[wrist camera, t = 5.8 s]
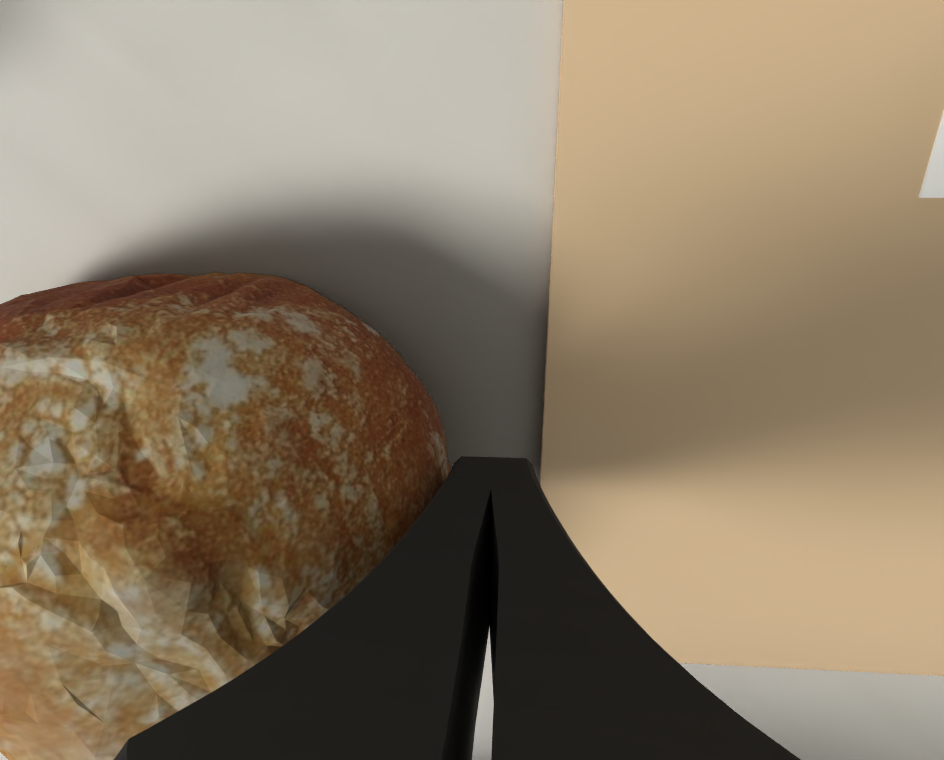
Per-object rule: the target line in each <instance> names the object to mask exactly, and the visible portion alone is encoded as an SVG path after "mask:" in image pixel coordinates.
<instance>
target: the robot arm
mask: <svg viewBox="0 0 944 760" xmlns="http://www.w3.org/2000/svg"><path fill="white" fill-rule="evenodd" d="M489 625H490V642H491V660H492V678H493V695H494V713H493V736H492V759H491V760H800V759H799V758H797V757H796V756H795V755H793V754H792V753H790V752H789V751H788V750H786V749H785V748H784V747H782V746H781V745H779V744H778V743H777V742H775V741H774V740H773V739H771V738H770V737H768V736H767V735H766V734H764V733H763V732H761V731H760V730H759V729H757V728H756V727H755V726H753V725H752V724H750V723H749V722H748V721H746V720H745V719H744V718H743V717H741V716H740V715H739V714H737V713H736V712H735V711H734V710H732V709H731V708H730V707H729V706H728V705H726V704H725V703H724V702H723V701H722V700H720V699H719V698H718V697H717V696H715V695H714V694H713V693H712V692H711V691H709V690H708V689H707V688H706V687H705V686H703V685H702V684H701V683H700V682H698V681H697V680H696V679H695V678H694V677H693V676H692V675H691V674H690V673H689V672H688V671H687V670H685V669H684V668H683V667H682V666H681V665H680V664H679V663H678V662H677V661H676V660H675V659H674V658H673V657H672V656H670V655H669V654H668V653H667V652H666V651H665V650H664V649H663V648H662V647H661V646H660V645H659V644H658V643H657V642H655V641H654V640H653V639H652V638H651V637H650V636H649V635H648V633H647V632H646V631H645V630H644V629H643V628H642V627H641V626H640V625H639V624H638V623H637V622H636V621H635V620H634V619H633V618H632V616H631V615H630V614H629V613H628V612H627V611H626V610H625V609H624V608H623V606H622V605H621V604H620V603H619V602H618V601H617V600H616V598H615V597H614V596H613V595H612V594H611V593H610V591H609V590H608V589H607V588H606V586H605V585H604V584H603V583H602V582H601V580H600V579H599V578H598V576H597V575H596V574H595V573H594V571H593V570H592V569H591V567H590V566H589V564H588V563H587V562H586V560H585V559H584V558H583V556H582V555H581V553H580V552H579V551H578V549H577V548H576V546H575V545H574V543H573V542H572V540H571V539H570V537H569V536H568V534H567V532H566V531H565V529H564V528H563V526H562V524H561V523H560V521H559V519H558V518H557V516H556V514H555V513H554V511H553V509H552V507H551V506H550V504H549V502H548V500H547V498H546V496H545V494H544V492H543V490H542V488H541V486H540V484H539V482H538V479H537V477H536V474H535V472H534V469H533V465H532V464H531V463H530V462H529V461H528V460H527V459H526V458H497V457H463V456H462V457H460V458H459V459H458V460H457V461H456V462H455V463H454V465H453V467H452V469H451V471H450V472H449V474H448V476H447V478H446V479H445V481H444V482H443V484H442V485H441V487H440V488H439V490H438V491H437V493H436V494H435V496H434V497H433V499H432V500H431V501H430V503H429V504H428V505H427V507H426V508H425V509H424V510H423V512H422V513H421V514H420V516H419V517H418V518H417V520H416V521H415V522H414V524H413V525H412V526H411V527H410V529H409V530H408V531H407V532H406V533H405V534H404V535H403V537H402V538H401V539H400V540H399V541H398V542H397V543H396V545H395V546H394V547H393V548H392V549H391V550H390V551H389V553H388V554H387V555H386V556H385V557H384V558H383V559H382V560H381V561H380V562H379V563H378V564H377V565H376V566H375V568H374V569H373V570H372V571H371V572H370V573H369V574H368V575H367V576H366V577H365V578H364V579H362V580H361V581H360V582H359V583H358V584H357V585H356V586H355V587H354V588H353V589H352V590H351V591H350V592H349V593H347V594H346V595H345V596H344V597H343V598H342V599H341V600H340V601H338V602H337V603H336V604H335V605H334V606H332V607H331V608H330V609H329V610H328V611H326V612H325V613H324V614H323V615H322V616H321V617H319V618H318V619H317V620H316V621H315V622H313V623H312V624H311V625H310V626H308V627H307V628H306V629H305V630H303V631H302V632H301V633H299V634H298V635H297V636H295V637H294V638H293V639H291V640H290V641H289V642H287V643H286V644H285V645H283V646H282V647H280V648H279V649H277V650H276V651H274V652H273V653H272V654H270V655H269V656H267V657H266V658H264V659H263V660H261V661H260V662H259V663H257V664H256V665H254V666H252V667H251V668H249V669H248V670H246V671H245V672H243V673H242V674H240V675H239V676H237V677H236V678H234V679H232V680H231V681H229V682H228V683H226V684H224V685H223V686H221V687H220V688H218V689H216V690H215V691H213V692H211V693H209V694H208V695H206V696H204V697H202V698H201V699H199V700H197V701H195V702H194V703H192V704H190V705H188V706H187V707H185V708H183V709H181V710H180V711H178V712H176V713H174V714H173V715H171V716H169V717H167V718H166V719H164V720H162V721H160V722H158V723H157V724H155V725H153V726H151V727H150V728H148V729H146V730H144V731H142V732H140V733H138V734H137V735H135V736H133V737H131V738H129V739H128V740H127V742H126V743H125V744H124V746H123V747H122V749H121V750H120V752H119V753H118V754H117V756H116V757H115V758H114V760H472V751H473V741H474V732H475V723H476V716H477V709H478V702H479V695H480V688H481V681H482V674H483V667H484V660H485V653H486V646H487V639H488V632H489Z"/></svg>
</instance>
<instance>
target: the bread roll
mask: <svg viewBox="0 0 944 760" xmlns="http://www.w3.org/2000/svg"><path fill="white" fill-rule="evenodd" d="M450 471H451V468H450V465H449V462H448V459H447V446H446V441H445V435H444V429H443V426H442V423H441V420H440V417H439V413H438V410H437V407H436V405H435V403H434V402H433V400H432V399H431V397H430V396H429V394H428V392H427V391H426V389H425V388H424V386H423V384H422V383H421V382H420V381H419V379H418V378H417V377H416V376H415V374H414V373H413V372H412V371H411V369H410V368H409V367H408V366H407V364H406V363H405V362H404V360H403V359H402V357H401V356H400V355H399V353H398V352H397V351H396V350H395V349H394V348H393V347H392V346H391V345H390V344H389V343H388V342H387V341H386V340H385V339H383V338H382V337H381V336H380V335H379V334H378V333H377V332H376V331H375V330H374V329H372V328H371V327H370V326H369V325H367V324H366V323H365V322H363V321H362V320H360V319H359V318H357V317H356V316H354V315H353V314H352V313H350V312H349V311H347V310H346V309H344V308H342V307H341V306H339V305H337V304H336V303H334V302H332V301H331V300H329V299H327V298H326V297H324V296H322V295H321V294H319V293H317V292H316V291H314V290H312V289H311V288H309V287H307V286H305V285H302V284H299V283H296V282H293V281H291V280H288V279H285V278H281V277H276V276H271V275H264V274H254V273H234V274H225V273H219V272H213V273H209V274H204V275H200V276H192V275H181V274H149V275H135V276H125V277H122V278H119V279H115V280H112V281H88V282H81V283H75V284H71V285H66V286H62V287H58V288H53V289H49V290H44V291H39V292H35V293H31V294H26V295H21V296H19V297H16V298H14V299H12V300H10V301H8V302H5V303H3V304H0V752H1V753H2V754H3V755H4V756H5V757H6V758H7V759H8V760H114V758H115V757H116V756H117V754H118V753H119V752H120V750H121V749H122V747H123V746H124V744H125V743H126V742H127V740H128V739H129V738H131V737H133V736H135V735H137V734H138V733H140V732H142V731H144V730H146V729H148V728H150V727H151V726H153V725H155V724H157V723H158V722H160V721H162V720H164V719H166V718H167V717H169V716H171V715H173V714H174V713H176V712H178V711H180V710H181V709H183V708H185V707H187V706H188V705H190V704H192V703H194V702H195V701H197V700H199V699H201V698H202V697H204V696H206V695H208V694H209V693H211V692H213V691H215V690H216V689H218V688H220V687H221V686H223V685H224V684H226V683H228V682H229V681H231V680H232V679H234V678H236V677H237V676H239V675H240V674H242V673H243V672H245V671H246V670H248V669H249V668H251V667H252V666H254V665H256V664H257V663H259V662H260V661H261V660H263V659H264V658H266V657H267V656H269V655H270V654H272V653H273V652H274V651H276V650H277V649H279V648H280V647H282V646H283V645H285V644H286V643H287V642H289V641H290V640H291V639H293V638H294V637H295V636H297V635H298V634H299V633H301V632H302V631H303V630H305V629H306V628H307V627H308V626H310V625H311V624H312V623H313V622H315V621H316V620H317V619H318V618H319V617H321V616H322V615H323V614H324V613H325V612H326V611H328V610H329V609H330V608H331V607H332V606H334V605H335V604H336V603H337V602H338V601H340V600H341V599H342V598H343V597H344V596H345V595H346V594H347V593H349V592H350V591H351V590H352V589H353V588H354V587H355V586H356V585H357V584H358V583H359V582H360V581H361V580H362V579H364V578H365V577H366V576H367V575H368V574H369V573H370V572H371V571H372V570H373V569H374V568H375V566H376V565H377V564H378V563H379V562H380V561H381V560H382V559H383V558H384V557H385V556H386V555H387V554H388V553H389V551H390V550H391V549H392V548H393V547H394V546H395V545H396V543H397V542H398V541H399V540H400V539H401V538H402V537H403V535H404V534H405V533H406V532H407V531H408V530H409V529H410V527H411V526H412V525H413V524H414V522H415V521H416V520H417V518H418V517H419V516H420V514H421V513H422V512H423V510H424V509H425V508H426V507H427V505H428V504H429V503H430V501H431V500H432V499H433V497H434V496H435V494H436V493H437V491H438V490H439V488H440V487H441V485H442V484H443V482H444V481H445V479H446V478H447V476H448V474H449V472H450Z"/></svg>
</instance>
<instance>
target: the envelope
mask: <svg viewBox="0 0 944 760" xmlns="http://www.w3.org/2000/svg"><path fill="white" fill-rule="evenodd" d="M540 486H541V488H542V490H543V492H544V494H545V496H546V498H547V500H548V502H549V504H550V506H551V507H552V509H553V511H554V513H555V514H556V516H557V518H558V519H559V521H560V523H561V524H562V526H563V528H564V529H565V531H566V532H567V534H568V536H569V537H570V539H571V540H572V542H573V543H574V545H575V546H576V548H577V549H578V551H579V552H580V553H581V555H582V556H583V558H584V559H585V560H586V562H587V563H588V564H589V566H590V567H591V569H592V570H593V571H594V573H595V574H596V575H597V576H598V578H599V579H600V580H601V582H602V583H603V584H604V585H605V586H606V588H607V589H608V590H609V591H610V593H611V594H612V595H613V596H614V597H615V598H616V600H617V601H618V602H619V603H620V604H621V605H622V606H623V608H624V609H625V610H626V611H627V612H628V613H629V614H630V615H631V616H632V618H633V619H634V620H635V621H636V622H637V623H638V624H639V625H640V626H641V627H642V628H643V629H644V630H645V631H646V632H647V633H648V635H649V636H650V637H651V638H652V639H653V640H654V641H655V642H657V643H658V644H659V645H660V646H661V647H662V648H663V649H664V650H665V651H666V652H667V653H668V654H669V655H670V656H672V657H673V658H674V659H675V660H676V661H677V662H678V663H694V664H714V665H735V666H755V667H775V668H796V669H816V670H836V671H857V672H877V673H897V674H917V675H938V676H944V0H563V19H562V39H561V60H560V80H559V100H558V121H557V141H556V161H555V182H554V202H553V223H552V243H551V263H550V284H549V304H548V324H547V345H546V365H545V386H544V406H543V426H542V447H541V467H540Z"/></svg>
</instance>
